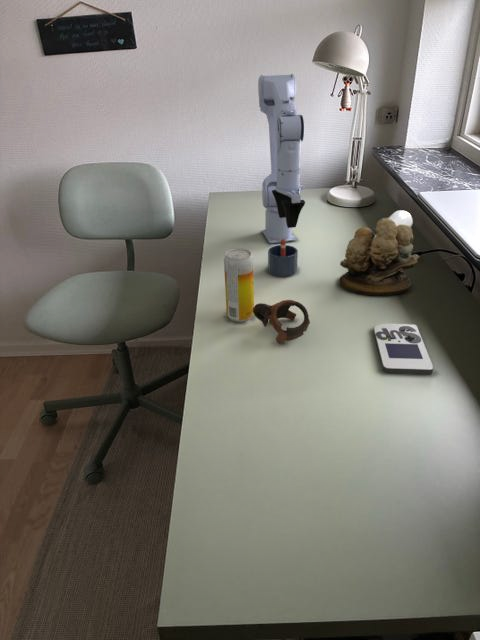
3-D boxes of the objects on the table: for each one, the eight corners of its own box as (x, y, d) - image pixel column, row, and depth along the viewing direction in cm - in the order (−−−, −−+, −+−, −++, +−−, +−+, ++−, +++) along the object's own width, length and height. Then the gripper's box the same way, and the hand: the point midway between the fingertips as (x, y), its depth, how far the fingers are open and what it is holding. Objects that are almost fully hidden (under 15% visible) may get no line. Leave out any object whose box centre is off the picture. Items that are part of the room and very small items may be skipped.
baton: (279, 267, 126) (280, 239, 121) (284, 267, 126) (284, 238, 122) (280, 270, 125) (281, 241, 120) (285, 269, 125) (286, 240, 121)
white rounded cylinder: (381, 257, 135) (400, 235, 145) (399, 244, 130) (418, 223, 140) (365, 238, 135) (385, 218, 145) (383, 225, 130) (402, 205, 140)
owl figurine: (408, 273, 122) (419, 207, 113) (420, 296, 112) (434, 226, 103) (336, 273, 123) (341, 208, 114) (342, 296, 113) (349, 227, 104)
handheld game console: (383, 373, 89) (384, 367, 89) (372, 328, 102) (372, 322, 101) (433, 374, 89) (434, 368, 88) (415, 329, 101) (416, 323, 100)
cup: (265, 265, 128) (265, 246, 125) (292, 262, 129) (292, 243, 126) (272, 278, 122) (272, 258, 119) (300, 275, 123) (301, 255, 120)
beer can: (258, 311, 109) (257, 250, 101) (247, 325, 104) (245, 262, 96) (233, 306, 111) (231, 245, 103) (222, 319, 106) (218, 257, 98)
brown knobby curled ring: (307, 320, 106) (316, 301, 99) (297, 358, 101) (306, 341, 94) (255, 304, 106) (260, 284, 99) (243, 341, 102) (247, 323, 95)
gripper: (313, 174, 113) (311, 230, 120) (295, 160, 125) (294, 211, 132) (284, 177, 112) (283, 233, 119) (269, 162, 124) (268, 214, 131)
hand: (287, 222), depth 126 cm, fingers open, 7 cm apart
